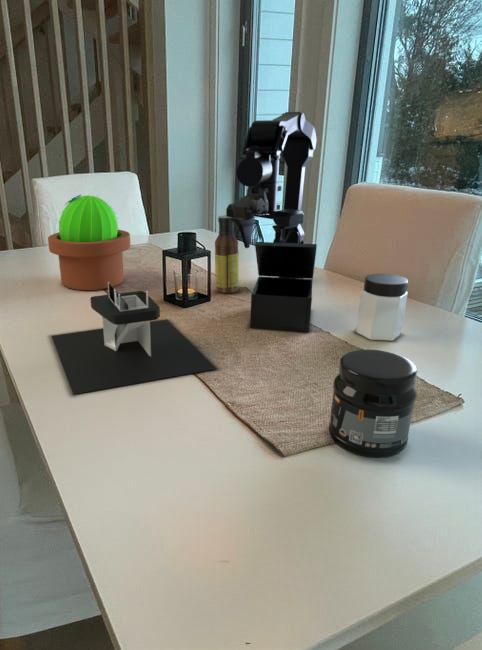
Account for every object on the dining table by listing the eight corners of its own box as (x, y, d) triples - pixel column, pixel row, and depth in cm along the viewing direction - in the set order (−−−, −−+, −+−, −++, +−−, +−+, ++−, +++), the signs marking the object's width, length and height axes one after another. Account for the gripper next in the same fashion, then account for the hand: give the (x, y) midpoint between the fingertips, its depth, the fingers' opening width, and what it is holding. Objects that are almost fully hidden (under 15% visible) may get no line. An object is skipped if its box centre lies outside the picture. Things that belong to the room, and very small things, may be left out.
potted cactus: (146, 278, 150) (142, 190, 141) (97, 298, 133) (89, 199, 124) (89, 269, 161) (82, 186, 152) (37, 286, 144) (26, 195, 135)
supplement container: (355, 412, 79) (365, 341, 74) (421, 442, 71) (437, 365, 66) (312, 437, 73) (320, 361, 68) (379, 472, 65) (393, 389, 60)
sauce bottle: (238, 287, 141) (240, 214, 133) (238, 294, 135) (241, 218, 127) (214, 287, 141) (215, 214, 133) (213, 294, 135) (214, 218, 128)
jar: (409, 338, 106) (419, 282, 101) (377, 344, 103) (385, 286, 99) (379, 324, 114) (387, 271, 109) (348, 329, 111) (355, 275, 106)
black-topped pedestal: (51, 336, 110) (44, 275, 104) (166, 320, 118) (165, 263, 113) (73, 395, 85) (65, 320, 80) (216, 369, 94) (217, 299, 88)
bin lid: (316, 247, 105) (316, 244, 105) (254, 245, 108) (255, 241, 108) (312, 278, 119) (313, 275, 119) (258, 275, 122) (258, 272, 122)
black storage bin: (308, 332, 109) (312, 298, 106) (249, 328, 112) (251, 294, 109) (309, 310, 122) (312, 279, 119) (257, 307, 125) (258, 276, 122)
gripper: (209, 181, 115) (209, 250, 122) (274, 188, 102) (270, 264, 108) (243, 177, 122) (241, 243, 128) (308, 183, 109) (302, 255, 115)
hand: (261, 251), depth 120 cm, fingers open, 9 cm apart
